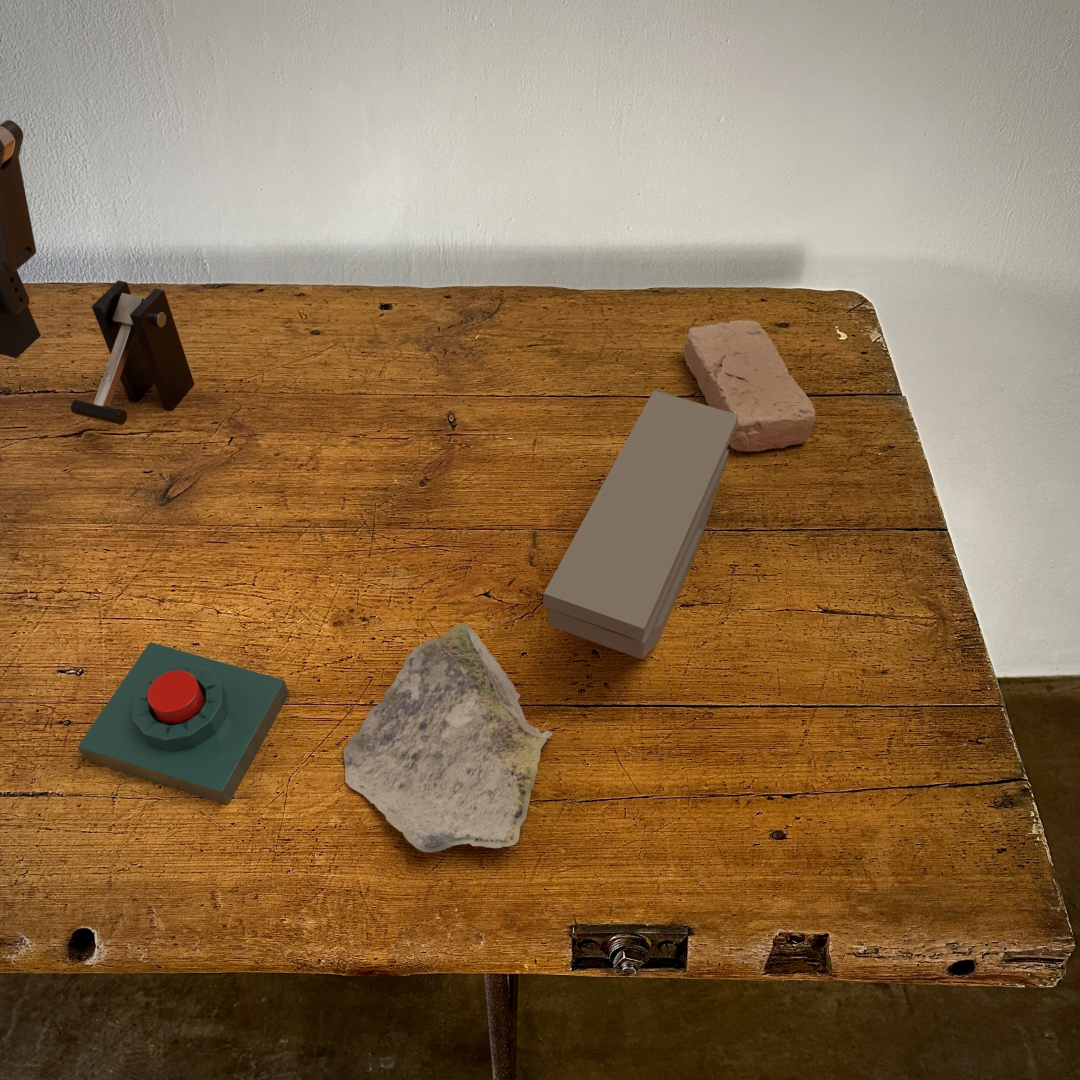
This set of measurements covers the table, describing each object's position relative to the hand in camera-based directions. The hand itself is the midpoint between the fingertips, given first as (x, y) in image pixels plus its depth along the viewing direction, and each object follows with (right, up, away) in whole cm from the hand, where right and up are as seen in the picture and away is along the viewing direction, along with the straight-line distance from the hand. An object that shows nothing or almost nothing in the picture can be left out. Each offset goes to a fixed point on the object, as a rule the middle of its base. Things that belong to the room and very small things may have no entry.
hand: (19, 344), depth 68 cm
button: (+9, -26, +5) cm, 28 cm away
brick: (+58, +1, +34) cm, 67 cm away
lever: (-3, +3, +24) cm, 25 cm away
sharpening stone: (+45, -17, +18) cm, 52 cm away
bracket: (-2, +1, +32) cm, 32 cm away
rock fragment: (+30, -30, +7) cm, 43 cm away
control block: (+9, -28, +8) cm, 31 cm away
